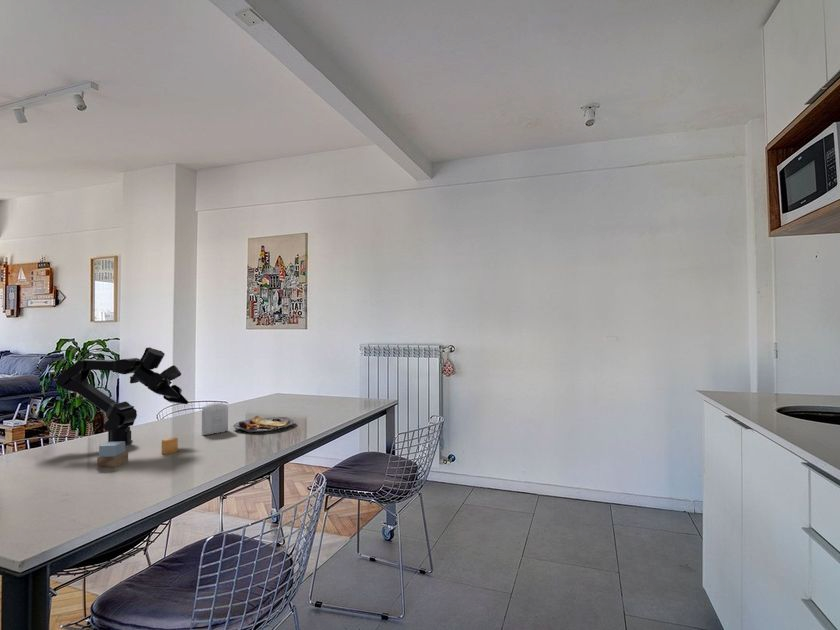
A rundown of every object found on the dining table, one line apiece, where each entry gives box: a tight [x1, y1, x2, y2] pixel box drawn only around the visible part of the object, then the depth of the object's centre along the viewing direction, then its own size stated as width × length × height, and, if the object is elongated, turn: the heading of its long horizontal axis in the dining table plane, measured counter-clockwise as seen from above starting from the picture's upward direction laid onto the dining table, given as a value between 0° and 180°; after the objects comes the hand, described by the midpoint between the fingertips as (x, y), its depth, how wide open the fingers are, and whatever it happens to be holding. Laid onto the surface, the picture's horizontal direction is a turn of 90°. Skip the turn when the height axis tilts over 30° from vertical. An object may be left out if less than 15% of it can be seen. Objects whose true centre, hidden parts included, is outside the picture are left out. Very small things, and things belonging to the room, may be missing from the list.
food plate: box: [233, 415, 296, 433], centre depth 191 cm, size 25×23×4 cm
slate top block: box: [98, 441, 126, 457], centre depth 142 cm, size 5×5×4 cm
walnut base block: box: [96, 450, 129, 468], centre depth 142 cm, size 6×6×4 cm
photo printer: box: [201, 402, 229, 436], centre depth 182 cm, size 10×4×12 cm, turn 134°
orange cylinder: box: [161, 437, 179, 455], centre depth 155 cm, size 5×5×4 cm
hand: (183, 400), depth 164 cm, fingers open, 9 cm apart
